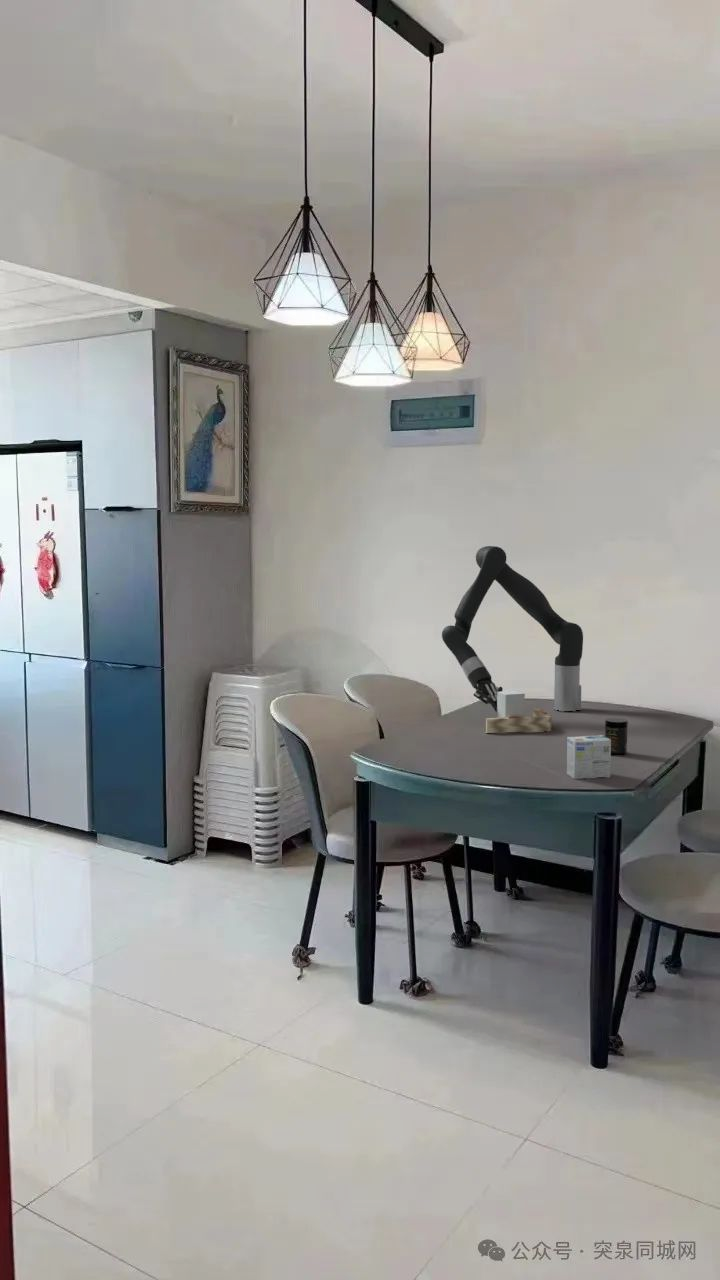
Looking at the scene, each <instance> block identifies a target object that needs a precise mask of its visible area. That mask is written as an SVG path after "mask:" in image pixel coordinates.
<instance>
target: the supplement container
mask: <svg viewBox="0 0 720 1280" xmlns="http://www.w3.org/2000/svg"><path fill="white" fill-rule="evenodd" d="M628 726H629V720H628V719H626V718H620V717H608V718H605V720H604V737H606V738H608V739H610V740H611V756H613V755H622V756H625V755H627V753H628V735H629V734H628V733H629V732H628V729H629V728H628Z"/></svg>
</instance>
